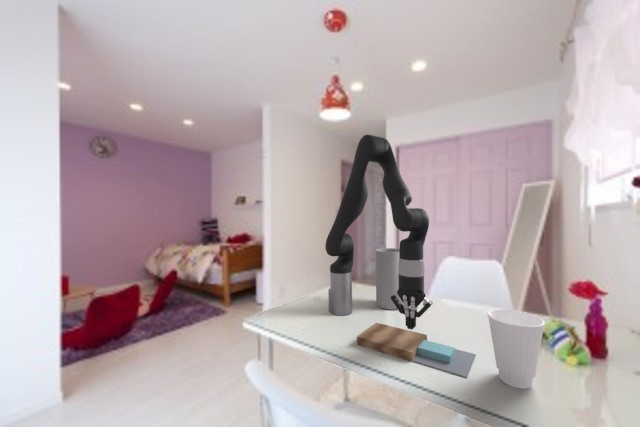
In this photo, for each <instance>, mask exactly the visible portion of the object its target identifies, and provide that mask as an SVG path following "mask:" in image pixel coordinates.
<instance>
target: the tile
mask: <svg viewBox="0 0 640 427" xmlns="http://www.w3.org/2000/svg"><path fill="white" fill-rule="evenodd" d="M455 349H456V347H453V346H450V345H446V344H443V343H438V342H433V341H430V340H428V339H427V340H423V342H422V343H421V344H420V345H419V346H418V354H419V355H423V356H426V357H430V358H433V359H437V360H440V361H444V362H447V363H451V361H452V359H453V357H454V356H455Z"/></svg>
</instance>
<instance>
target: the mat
mask: <svg viewBox="0 0 640 427" xmlns="http://www.w3.org/2000/svg"><path fill="white" fill-rule="evenodd" d="M476 356H477V354H476V353H472V352H469V351H465V350H460V349H457V348H455V356H454V357H453V359H452V361H451V363H447V362H444V361H440V360H437V359H433V358H430V357H426V356H423V355H419V354H417V355H416V356H415V358H414V359H413V360H412V361H411V362H412V363H416V364H419V365H422V366H427V367H430V368H433V369H434V370H435V369H436V370H440V371H441V372H442V371H443V372H446V373H449V374H452V375H455V376H458V377H462V378H465V379H468V376H469V373H470V371H471V368H472V365H473V363H474V361H475V358H476Z"/></svg>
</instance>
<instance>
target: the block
mask: <svg viewBox="0 0 640 427" xmlns="http://www.w3.org/2000/svg"><path fill="white" fill-rule="evenodd" d="M423 340H427V341H428V335H427V334H424V333H421V332H416V331H412V330H410V329H404V328H400V327H397V326H391V325H388V324H383V323H379V322H374V324H372V325H370V326H369V327H368V328H367V329H365V330H364V331H362V332H361V333H360V334H359V335H357V336H356V345H358V346H361V347H365V348H368V349H371V350H374V351H378V352H381V353H383V354H388V355H389V356H390V355H391V356H393V357H397V358H400V359H403V360H407V361H410V362H413V361H412V360H413V359H414V358H415V356H416V355H417V354H418V346H419V345H420V344H421V343H422V342H423Z"/></svg>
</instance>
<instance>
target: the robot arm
mask: <svg viewBox="0 0 640 427" xmlns="http://www.w3.org/2000/svg"><path fill="white" fill-rule="evenodd" d="M392 148H393V147H392V146H391V143H390V142H389V140H388V139H387V138H384V137H382V136H381V137H380V136H377V135H371V134H364V135H363V136H362V137H361V138H360V139H359V142H358V144H357V147H356V151H355V154H354V155H355V156H354V158H353V159H354V160H353V162H352V167H351V172H350V175H349V179H348V182H347V184H346V186H345V187H346V188H345V189H344V192H343V196H342V199H341V201H340V205H339V207H338V208H339V209H338V211H337V213H336V216H335V218H334V221H333V224H332V225H331V228H330V230H329V233H328V235H327V238H326V241H325V252H326V253H327V255H329V256H330V257H337V258H336V260H335V261H334V262H332V263H331V264H330V266H329V279H330V280H329V282H330V283H329V284H330V288H328V312H330V313H331V314H332V315H336V316H348V315H350V314H352V313H353V280H352V279H353V275H352V274H353V273H352V272H353V270H352V269H353V265H354V253H355V252H354V251H355V246H354V239H353V238H352V235H350V234H349V233H346V232H347V230H348V229H349V228H350V227H351V225H352V224H353V223H354V222H355V221H356V220H357V219H358V218H359V217H360V216H361V214H362V213H363V211H364V208H365V205H366V202H367V201H368V195H369V192H368V188H367V186H368V185H367V180H366V172H367V169H368V164H369V162H371V163H377V164H378V165H379V166H380V167H381V169H382V171H383V178H382V188H383V191H384V193H385V195H386V197H387V200H388V202H389V204H390V210H391V215H392V221H393V224H394V226H395V228H397V230H398V231H400V232H406V233H407V232H409V235H408V236H407V237H406V238H403V239H401V240H400V241H399V248H398V249H399V277H398V286H399V289H398V291H397V294H394V295H392V296H391V300H392V301H393V303H394V304H395V306H396V307H397V310H398V312H399V313H400V314H402V315H404V316H405V327H406V328H407V330H410V331H412V330H414V329H415V328H416V327H417V318H420V317H422V316H423V315H424V313H426V312H427V311H428V309H429V308H430V307H432V306H433V301H431V300H429V299H428V298H427V297H426V296H427V295H426V293H425V264H424V245H425V240H426V238H427V234H428V231H429V226H430V217H429V215H428V213H427V211H426V210H425V209H424V208H420V207H419V208H418V207H417V208H415V207H414V208H413V207H412V208H411V207H410V208H408V206H409V205H410V204H411V203H412V200H413V196H412V194H411V191H410V190H409V188H408V187H407V184H406V183H405V181H404V179H403V177H402V175H401V173H400V170H399V167H398V164H397V160H396V158H395V154H394V151H393V149H392ZM400 299H401V301H402V302H403V303H404V305H403V304H402V302H401V301H400ZM421 303H422V306H423V307H421V309H420V310H419V311H418V308H419V306H420V304H421Z"/></svg>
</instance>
